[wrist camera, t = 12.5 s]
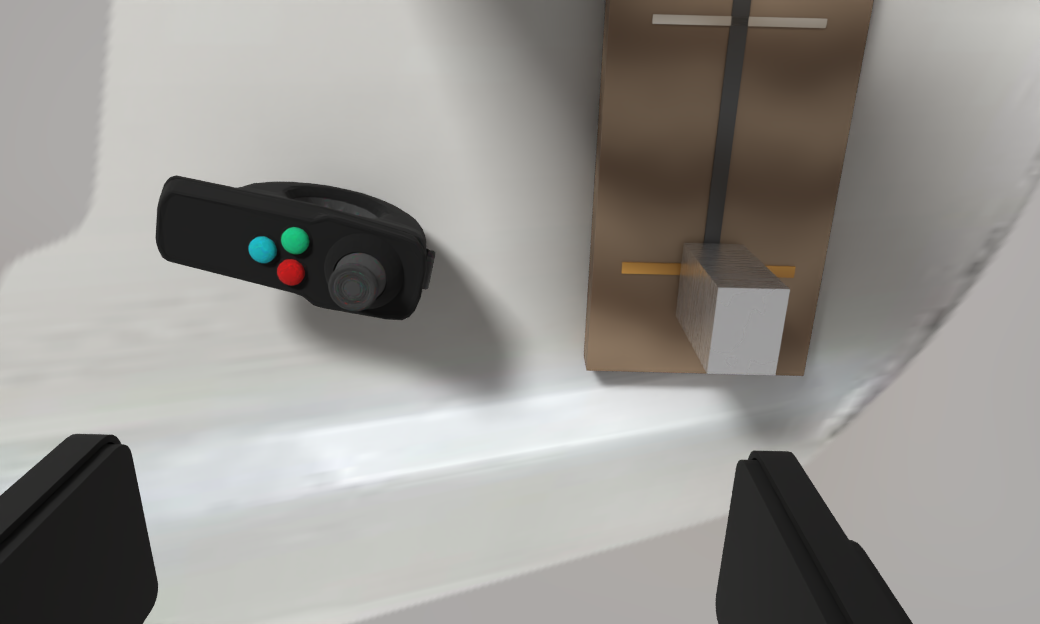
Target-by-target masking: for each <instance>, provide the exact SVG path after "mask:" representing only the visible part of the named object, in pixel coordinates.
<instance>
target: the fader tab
mask: <svg viewBox="0 0 1040 624" xmlns="http://www.w3.org/2000/svg"><path fill="white" fill-rule="evenodd" d="M789 293H790V289H789V288H788V287H787V286H786V285H785V284H784V283H783V282H782V281H781V280H780V279H779V278H778V277H777V276H776V275H774V274H773V273H772V272H771V271H770V270H769V269H768V268H767V267H766V266H765V265H764V264H763V263H762V262H761V261H760V260H759V259H758V258H757V257H755V256H754V255H753V254H752V253H751V252H750V251H749V250H748V249H747V248H746V247H745V246H744V245H743V244H721V243H684V244H683V253H682V262H681V271H680V280H679V289H678V298H677V307H676V317H677V319H678V321H679V323H680V325H681V326H682V328H683V330H684V332H685V334H686V336H687V338H688V339H689V341H690V343H691V345H692V347H693V349H694V351H695V352H696V354H697V356H698V358H699V360H700V362H701V363H702V365H703V367H704V369H705V371H706V373H707V374H739V375H776V369H777V363H778V357H779V351H780V345H781V340H782V334H783V328H784V322H785V316H786V310H787V304H788V299H789Z"/></svg>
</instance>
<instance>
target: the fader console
mask: <svg viewBox="0 0 1040 624" xmlns="http://www.w3.org/2000/svg"><path fill="white" fill-rule="evenodd" d="M873 1H874V0H606V4H605V20H604V36H603V53H602V69H601V85H600V101H599V118H598V134H597V150H596V166H595V182H594V199H593V215H592V231H591V247H590V263H589V280H588V296H587V312H586V328H585V345H584V359H585V364H586V370H588V371H628V372H669V373H706V371H705V369H704V367H703V365H702V363H701V362H700V360H699V358H698V356H697V354H696V352H695V351H694V349H693V347H692V345H691V343H690V341H689V339H688V338H687V336H686V334H685V332H684V330H683V328H682V326H681V325H680V323H679V321H678V319H677V317H676V307H677V298H678V289H679V280H680V271H681V262H682V253H683V244H684V243H721V244H743V245H744V246H745V247H746V248H747V249H748V250H749V251H750V252H751V253H752V254H753V255H754V256H755V257H757V258H758V259H759V260H760V261H761V262H762V263H763V264H764V265H765V266H766V267H767V268H768V269H769V270H770V271H771V272H772V273H773V274H774V275H776V276H777V277H778V278H779V279H780V280H781V281H782V282H783V283H784V284H785V285H786V286H787V287H788V288H789V289H790V293H789V299H788V304H787V310H786V316H785V322H784V328H783V334H782V340H781V345H780V351H779V357H778V363H777V369H776V375H790V376H804V371H805V365H806V360H807V355H808V349H809V344H810V339H811V333H812V328H813V322H814V317H815V312H816V306H817V301H818V296H819V290H820V285H821V280H822V274H823V269H824V264H825V258H826V253H827V248H828V242H829V237H830V232H831V226H832V221H833V215H834V210H835V205H836V199H837V194H838V189H839V183H840V178H841V173H842V167H843V162H844V157H845V151H846V146H847V141H848V135H849V130H850V125H851V119H852V114H853V108H854V103H855V98H856V92H857V87H858V82H859V76H860V71H861V66H862V60H863V55H864V50H865V44H866V39H867V34H868V28H869V23H870V18H871V12H872V7H873Z"/></svg>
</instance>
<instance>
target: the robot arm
mask: <svg viewBox="0 0 1040 624" xmlns="http://www.w3.org/2000/svg"><path fill="white" fill-rule="evenodd" d="M157 593H158V581H157V576H156V571H155V566H154V561H153V556H152V552H151V547H150V542H149V537H148V532H147V527H146V522H145V517H144V512H143V507H142V502H141V497H140V492H139V487H138V482H137V478H136V473H135V468H134V463H133V458H132V453H131V450H130V449H129V447H128V446H126V445H123V444H121V442H120V440H119V439H118V438H117V437H116V436H114V435H101V434H73V435H71V436H69V437H67V438H66V439H65V440H64V441H63V442H62V443H60V444H59V445H58V446H57V447H56V448H55V449H53V450H52V451H51V452H50V453H49V454H48V455H47V456H45V457H44V458H43V459H42V460H41V461H40V462H39V463H37V464H36V465H35V466H34V467H33V468H32V469H30V470H29V471H28V472H27V473H26V474H25V475H24V476H22V477H21V478H20V479H19V480H18V481H17V482H16V483H14V484H13V485H12V486H11V487H10V488H9V489H7V490H6V491H5V492H4V493H3V494H2V495H1V496H0V624H143V622H144V621H145V619H146V618H147V616H148V615H149V613H150V612H151V610H152V608H153V606H154V604H155V601H156V598H157ZM716 614H717V620H718V624H913V623H912V622H911V620H910V619H909V617H908V616H907V614H906V613H905V611H904V610H903V608H902V607H901V605H900V604H899V602H898V601H897V599H896V598H895V596H894V595H893V593H892V592H891V590H890V589H889V587H888V585H887V584H886V582H885V581H884V580H883V578H882V576H881V575H880V573H879V572H878V570H877V569H876V567H875V566H874V564H873V563H872V561H871V560H870V559H869V557H868V555H867V554H866V552H865V551H864V550H863V548H862V547H861V546H860V545H859V544H858V543H856V542H854V541H852V540H849V539H848V538H847V536H846V535H845V533H844V532H843V530H842V528H841V527H840V525H839V524H838V522H837V521H836V519H835V518H834V516H833V515H832V513H831V511H830V510H829V508H828V507H827V505H826V504H825V502H824V501H823V499H822V497H821V496H820V494H819V493H818V491H817V490H816V488H815V487H814V485H813V483H812V482H811V480H810V479H809V477H808V476H807V474H806V473H805V471H804V469H803V468H802V466H801V465H800V463H799V462H798V460H797V459H796V457H795V456H794V455H793V453H792V452H788V451H752V452H751V454H750V456H749V458H748V460H739V461H738V463H737V467H736V472H735V478H734V485H733V491H732V497H731V504H730V510H729V516H728V524H727V529H726V536H725V542H724V548H723V555H722V561H721V568H720V574H719V580H718V587H717V593H716Z"/></svg>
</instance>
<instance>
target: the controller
mask: <svg viewBox="0 0 1040 624" xmlns="http://www.w3.org/2000/svg"><path fill="white" fill-rule="evenodd" d="M156 243H157V247H158V250H159V252H160V254H161V255H162V257H163V258H164V259H166V260H167V261H170V262H174V263H178V264H181V265H185V266H189V267H193V268H197V269H201V270H205V271H209V272H213V273H217V274H221V275H225V276H229V277H233V278H237V279H240V280H244V281H248V282H252V283H256V284H260V285H264V286H268V287H272V288H276V289H280V290H284V291H288V292H292V293H295V294H298V295H301V296H303V297H304V298H306V299H307V300H308V301H309V302H310V303H312V304H313V305H315V306H318V307H322V308H326V309H332V310H338V311H343V312H349V313H354V314H360V315H366V316H371V317H377V318H382V319H392V320H404V319H406V318H408V317H410V315H411V314H412V313H413V312H414V311H415V309H416V307H417V304H418V302H419V300H420V297H421V293H422V289H427V288H428V286H429V282H430V277H431V272H432V268H433V263H434V258H435V252H434V251H431V250H429V249H426V239H425V235H424V232H423V229H422V228H421V226H420V225H419V223H418V222H417V221H416V220H415V219H414V218H413V217H412V216H410V215H409V214H407V213H406V212H404V211H403V210H401V209H399V208H398V207H396V206H394V205H392V204H390V203H387V202H385V201H383V200H380V199H378V198H375V197H372V196H369V195H366V194H363V193H359V192H355V191H351V190H346V189H342V188H337V187H332V186H326V185H319V184H311V183H298V182H265V183H253V184H250V185H247V186H244V187H239V188H234V187H230V186H225V185H220V184H215V183H210V182H205V181H201V180H196V179H191V178H186V177H181V176H173V177H170V178H169V179H168V180H167V181H166V183H165V184H164V187H163V190H162V193H161V195H160V199H159V203H158V207H157V223H156Z"/></svg>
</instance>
